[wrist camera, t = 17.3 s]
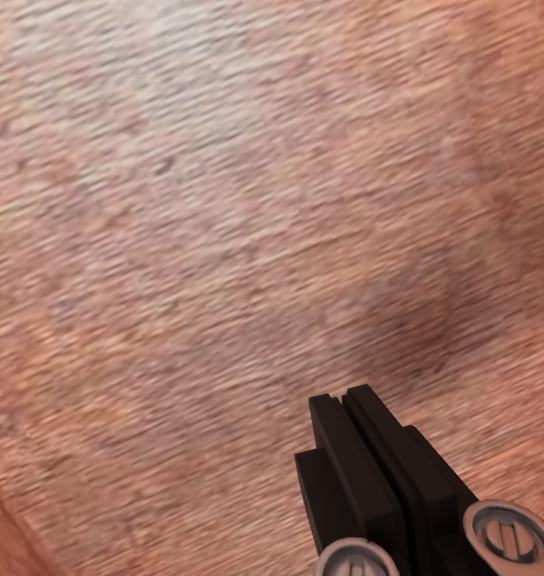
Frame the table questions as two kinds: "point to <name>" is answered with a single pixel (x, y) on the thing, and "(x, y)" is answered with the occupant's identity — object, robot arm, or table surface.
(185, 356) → the table surface
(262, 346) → the table surface
